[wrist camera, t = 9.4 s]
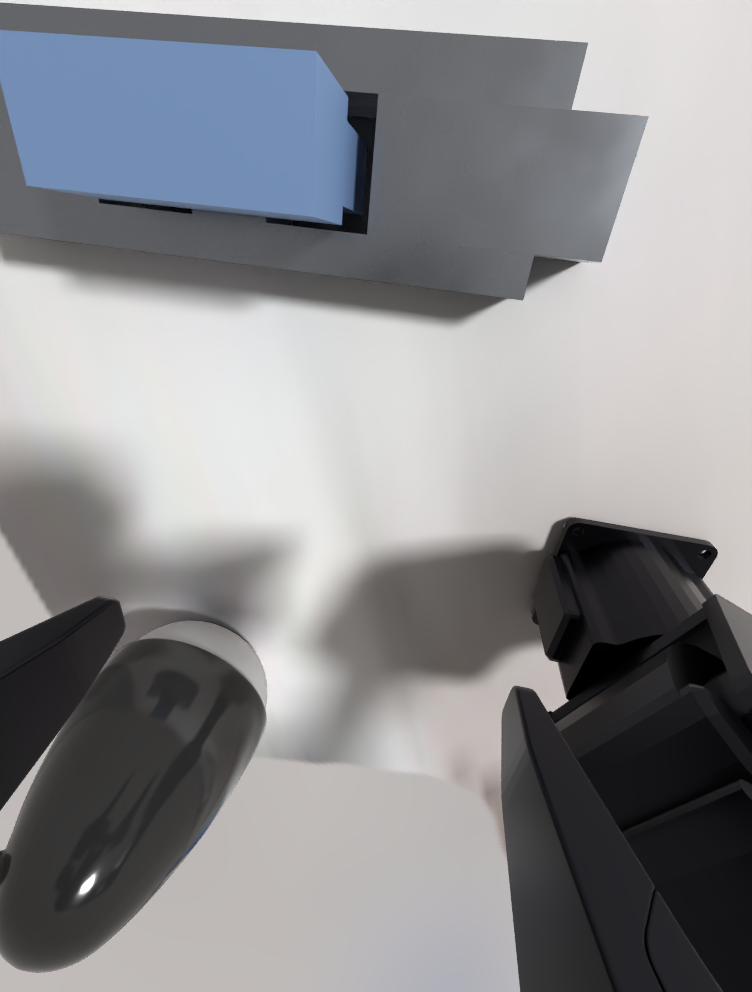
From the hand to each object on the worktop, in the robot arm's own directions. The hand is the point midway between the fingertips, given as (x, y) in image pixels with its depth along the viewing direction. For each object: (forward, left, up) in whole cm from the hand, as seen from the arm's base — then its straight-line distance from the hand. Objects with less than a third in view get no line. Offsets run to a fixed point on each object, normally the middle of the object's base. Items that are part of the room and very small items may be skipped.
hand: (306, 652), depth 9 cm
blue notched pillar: (+6, -10, -12) cm, 17 cm away
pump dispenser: (+10, +17, -12) cm, 23 cm away
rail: (+6, -10, -12) cm, 17 cm away
